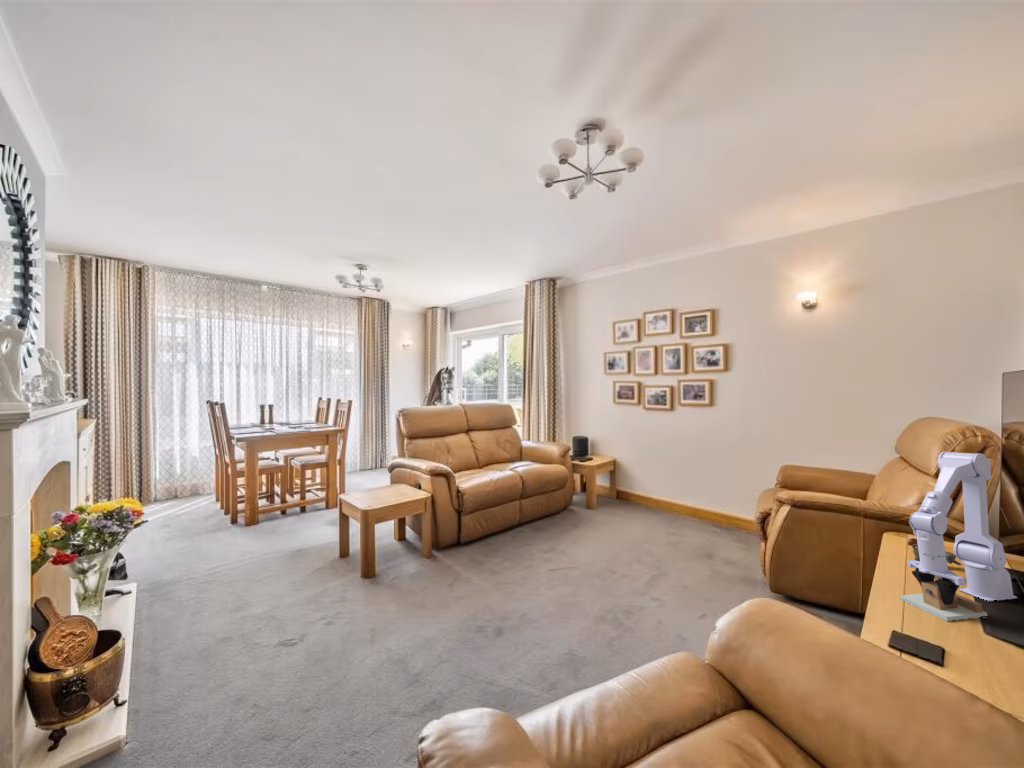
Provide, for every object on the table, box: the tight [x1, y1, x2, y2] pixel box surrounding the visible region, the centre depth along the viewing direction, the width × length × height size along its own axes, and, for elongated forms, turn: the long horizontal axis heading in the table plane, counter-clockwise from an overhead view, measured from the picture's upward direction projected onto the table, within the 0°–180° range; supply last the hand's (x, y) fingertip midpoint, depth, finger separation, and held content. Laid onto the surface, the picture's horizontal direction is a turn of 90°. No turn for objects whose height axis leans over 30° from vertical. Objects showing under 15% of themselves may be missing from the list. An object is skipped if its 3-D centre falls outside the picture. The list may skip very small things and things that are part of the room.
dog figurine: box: [911, 543, 962, 567], centre depth 149 cm, size 12×6×7 cm, turn 44°
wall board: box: [899, 592, 988, 622], centre depth 123 cm, size 12×14×3 cm
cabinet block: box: [920, 580, 958, 610], centre depth 122 cm, size 6×4×6 cm
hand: (938, 600), depth 122 cm, fingers closed on cabinet block, 4 cm apart
